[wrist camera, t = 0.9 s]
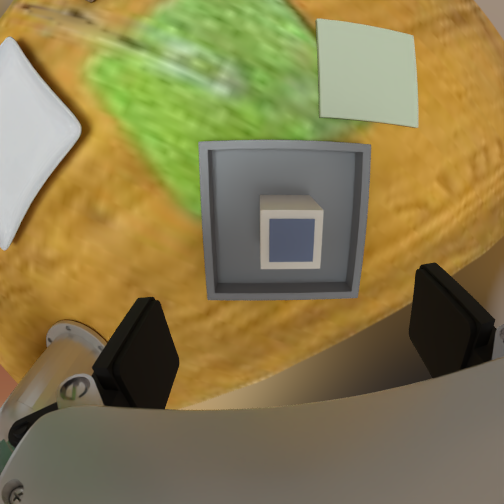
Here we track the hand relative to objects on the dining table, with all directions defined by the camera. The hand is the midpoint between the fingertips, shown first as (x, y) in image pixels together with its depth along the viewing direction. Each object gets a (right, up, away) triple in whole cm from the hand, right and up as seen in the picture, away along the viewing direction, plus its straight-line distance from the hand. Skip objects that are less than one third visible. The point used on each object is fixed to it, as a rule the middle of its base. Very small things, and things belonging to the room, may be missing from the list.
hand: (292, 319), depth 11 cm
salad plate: (-33, +17, +19) cm, 42 cm away
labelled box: (+2, +6, +21) cm, 22 cm away
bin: (+2, +6, +22) cm, 22 cm away
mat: (+11, +21, +16) cm, 28 cm away
